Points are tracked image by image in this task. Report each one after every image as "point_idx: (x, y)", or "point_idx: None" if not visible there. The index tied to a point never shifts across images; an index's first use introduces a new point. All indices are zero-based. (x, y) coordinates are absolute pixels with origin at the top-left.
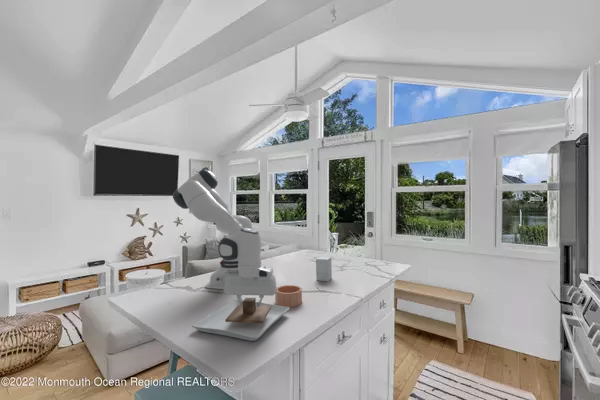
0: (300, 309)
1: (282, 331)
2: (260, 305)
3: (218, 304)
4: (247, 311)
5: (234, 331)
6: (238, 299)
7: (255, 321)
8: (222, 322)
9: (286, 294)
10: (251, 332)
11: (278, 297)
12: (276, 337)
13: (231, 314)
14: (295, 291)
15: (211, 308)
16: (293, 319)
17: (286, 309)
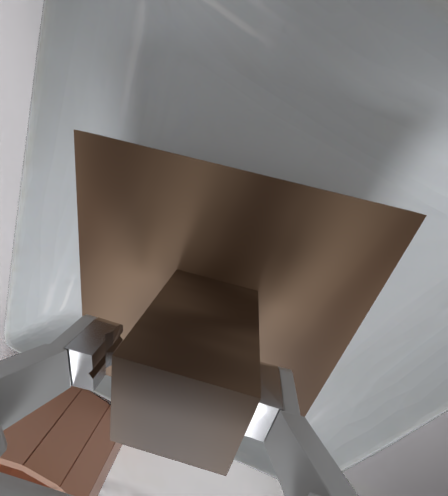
0: (9, 350)
1: (19, 129)
2: (80, 321)
3: (381, 484)
4: (216, 294)
5: (313, 161)
6: (324, 457)
7: (142, 146)
8: (384, 305)
9: (10, 453)
10: (195, 122)
11: (77, 447)
12: (30, 39)
13: (353, 309)
14: (23, 473)
15: (423, 462)
16: (8, 265)
17: (27, 337)
